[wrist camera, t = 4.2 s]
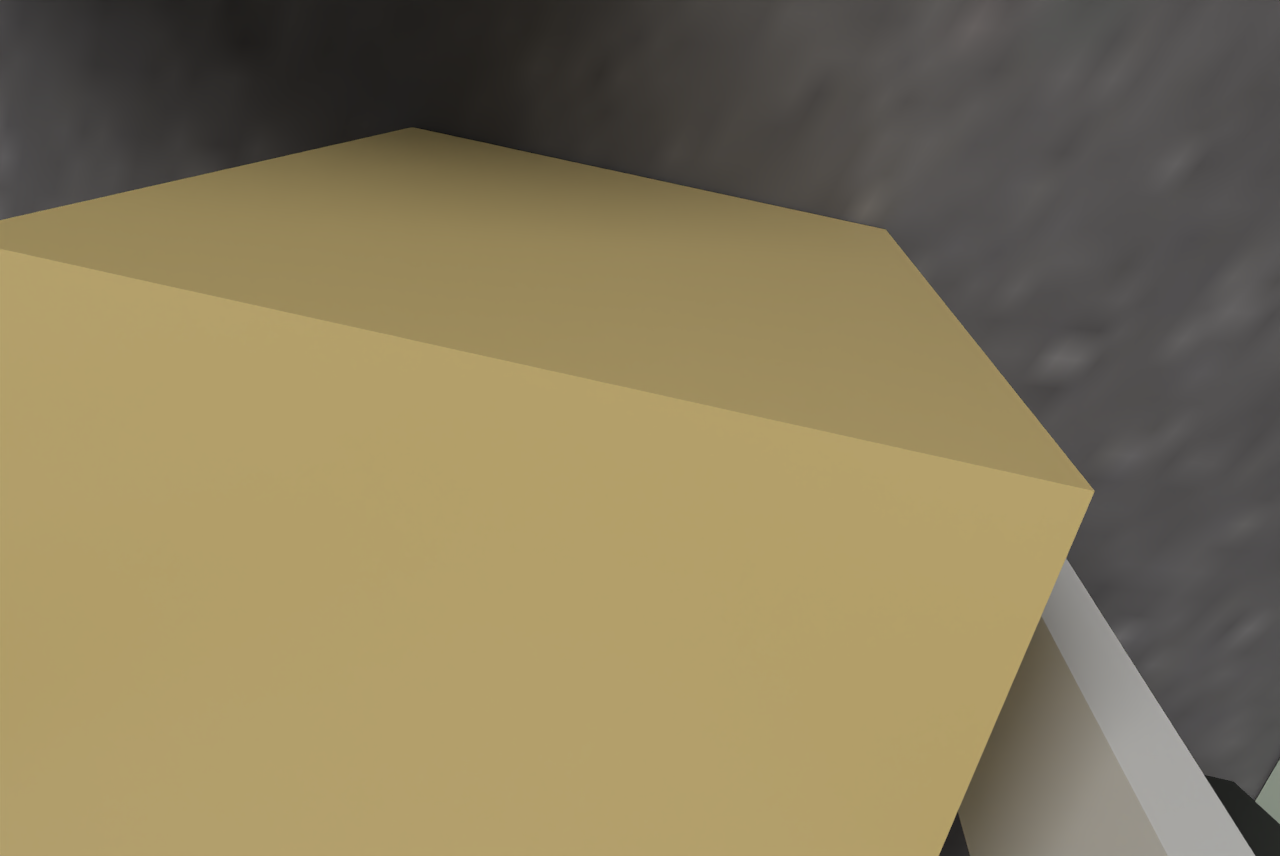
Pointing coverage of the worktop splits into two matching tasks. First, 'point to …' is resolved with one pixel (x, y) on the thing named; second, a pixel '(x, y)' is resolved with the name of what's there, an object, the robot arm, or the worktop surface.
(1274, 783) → the board
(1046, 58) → the worktop surface
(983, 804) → the robot arm
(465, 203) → the tan yellow block
